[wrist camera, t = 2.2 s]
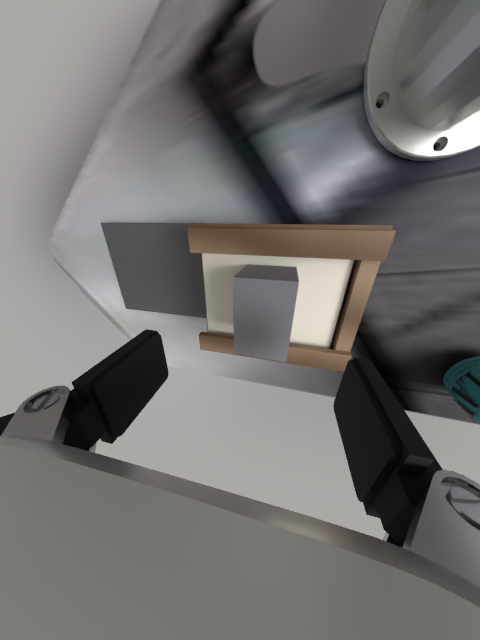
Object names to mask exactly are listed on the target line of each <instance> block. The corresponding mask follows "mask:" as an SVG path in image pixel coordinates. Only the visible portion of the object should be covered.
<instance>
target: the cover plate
mask: <svg viewBox="0 0 480 640" xmlns="http://www.w3.org/2000/svg"><path fill="white" fill-rule="evenodd" d="M202 260H203V272H204V285H205V297H206V310H207V322H208V333H214V334H221V335H228V336H234V354H236V355H243V356H249V357H255V358H262V359H268V360H275V361H281V362H287V355H288V349H289V344H295V345H303V346H310V347H318V348H325V349H329V348H330V345H331V341H332V338H333V334H334V330H335V327H336V323H337V320H338V316H339V312H340V309H341V305H342V302H343V298H344V294H345V291H346V287H347V284H348V280H349V277H350V273H351V269H352V266H353V262H354V260H348V259H325V258H302V257H279V256H256V255H233V254H210V253H202Z"/></svg>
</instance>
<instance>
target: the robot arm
mask: <svg viewBox="0 0 480 640" xmlns="http://www.w3.org/2000/svg"><path fill="white" fill-rule="evenodd" d="M363 93H364V104H365V112H366V115H367V118H368V122H369V125H370V128H371V129H372V131H373V133H374V135H375V136H376V138H377V140H378V141H379V142H380V143H381V144H382V145H383V146H384V147H385V148H386V149H387V150H388V151H390V152H392V153H394V154H395V155H397V156H399V157H401V158H406V159H410V160H414V161H434V160H439V159H444V158H450V157H453V156H456V155H458V154H461V153H464V152H467V151H469V150H472V149H474V148H476V147H478V146H480V0H386V1H385V4H384V6H383V8H382V11H381V13H380V15H379V18H378V21H377V24H376V27H375V30H374V33H373V36H372V39H371V42H370V46H369V51H368V56H367V60H366V65H365V73H364V87H363ZM378 102H379V103H380V104H381V108H377V106H376V103H378ZM433 145H436V149H435V151H434V149H433ZM167 377H168V368H167V363H166V358H165V353H164V348H163V343H162V338H161V335H160V334H159V333H158V332H157V331H153V330H144V331H143V332H141V333H140V334H139V335H137V336H136V337H134V338H133V339H132V340H130V341H129V342H127V343H126V344H125V345H123V346H122V347H120V348H119V349H118V350H116V351H115V352H114V353H112V354H111V355H109V356H108V357H106V358H105V359H104V360H102V361H101V362H99V363H98V364H97V365H95V366H94V367H92V368H91V369H90V370H88V371H87V372H85V373H84V374H83V375H81V376H80V377H78V378H77V379H76V380H74V381H73V382H72V384H73V386H74V389H73V390H72V391H70V390H69V388H68V387H66V386H54V387H50V388H47V389H44V390H42V391H40V392H38V393H36V394H34V395H32V396H31V397H29V398H28V399H27V400H25V401H24V402H23V403H22V404H21V405H20V407H19V408H18V409H17V411H16V412H15V413H12V414H9V415H6V416H3V417H0V640H480V485H479V484H478V483H476V482H475V481H473V480H471V479H469V478H467V477H465V476H464V475H461V474H459V473H456V472H454V471H449V470H443V469H442V468H441V467H440V465H439V463H438V462H437V460H436V459H435V457H434V456H433V454H432V453H431V451H430V449H429V448H428V446H427V445H426V443H425V442H424V440H423V439H422V437H421V436H420V434H419V433H418V431H417V429H416V428H415V427H414V425H413V423H412V422H411V420H410V419H409V417H408V416H407V414H406V413H405V411H404V409H403V408H402V406H401V405H400V403H399V402H398V400H397V399H396V398H395V396H394V395H393V394H392V393H391V391H390V389H389V388H388V386H387V385H386V383H385V382H384V380H383V379H382V377H381V376H380V374H379V372H378V371H377V369H376V368H375V366H374V365H373V363H372V362H371V360H369V359H363V358H353V360H349V361H348V363H347V365H346V368H345V371H344V374H343V377H342V380H341V383H340V386H339V389H338V392H337V395H336V398H335V401H334V412H335V415H336V419H337V423H338V427H339V431H340V434H341V438H342V442H343V446H344V449H345V453H346V457H347V461H348V465H349V469H350V472H351V476H352V480H353V484H354V487H355V491H356V495H357V497H358V499H359V501H361V502H363V504H364V507H365V511H366V514H367V515H370V516H374V517H378V518H380V519H381V522H382V525H383V528H384V530H385V531H386V534H385V536H384V539H383V540H381V539H378V538H375V537H372V536H369V535H366V534H363V533H360V532H357V531H354V530H350V529H347V528H344V527H341V526H338V525H334V524H332V523H329V522H326V521H322V520H319V519H316V518H313V517H310V516H306V515H303V514H300V513H297V512H293V511H290V510H286V509H283V508H280V507H276V506H273V505H269V504H266V503H263V502H260V501H256V500H253V499H250V498H247V497H243V496H240V495H237V494H233V493H230V492H226V491H223V490H219V489H216V488H213V487H209V486H206V485H202V484H199V483H196V482H193V481H189V480H186V479H182V478H179V477H175V476H172V475H169V474H165V473H162V472H159V471H155V470H152V469H148V468H145V467H142V466H138V465H135V464H131V463H128V462H124V461H121V460H117V459H113V458H110V457H107V456H103V455H100V454H96V453H95V448H96V442H97V441H98V440H99V439H100V438H101V440H102V441H104V442H107V443H111V444H112V443H113V442H114V441H115V440H116V438H117V437H119V436H121V435H122V434H123V433H124V432H125V431H126V429H127V428H128V427H129V426H130V424H131V423H132V422H133V420H134V419H135V418H136V417H137V416H138V414H139V413H140V412H141V411H142V409H143V408H144V407H145V406H146V404H147V403H148V402H149V401H150V399H151V398H152V397H153V396H154V394H155V393H156V392H157V391H158V389H159V388H160V387H161V386H162V384H163V383H164V382H165V380H166V379H167Z"/></svg>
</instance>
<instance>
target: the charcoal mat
mask: <svg viewBox="0 0 480 640" xmlns="http://www.w3.org/2000/svg"><path fill="white" fill-rule="evenodd" d="M101 225H102V228H103V231H104V235H105V238H106V241H107V245H108V248H109V252H110V255H111V258H112V262H113V265H114V269H115V272H116V275H117V279H118V282H119V286H120V289H121V292H122V296H123V299H124V303H125V306H126V309H135V310H143V311H151V312H160V313H168V314H177V315H185V316H194V317H202V318H207V315H206V303H205V291H204V278H203V266H202V254H201V253H190V248H189V239H188V229H187V228H191V224H176V223H101Z"/></svg>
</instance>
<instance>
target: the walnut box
mask: <svg viewBox="0 0 480 640" xmlns="http://www.w3.org/2000/svg"><path fill="white" fill-rule="evenodd" d="M190 224H191V228H187V229H188V239H189V248H190V253H201V254H202V253H210V254H233V255H256V256H279V257H302V258H325V259H348V260H354V262H353V266H352V269H351V273H350V277H349V280H348V284H347V287H346V291H345V294H344V298H343V302H342V305H341V309H340V312H339V316H338V320H337V323H336V327H335V330H334V334H333V338H332V341H331V345H330V348H329V349H325V348H318V347H310V346H303V345H295V344H289V349H288V355H287V362H284V363H290V364H297V365H303V366H310V367H316V368H323V369H329V370H336V371H342V372H344V371H345V368H346V365H347V363H348V361H349V360H351V357H352V355H351V353H350V350H351V347H352V344H353V341H354V338H355V335H356V332H357V330H358V327H359V324H360V321H361V318H362V315H363V312H364V309H365V306H366V303H367V300H368V297H369V295H370V292H371V289H372V286H373V283H374V280H375V277H376V274H377V271H378V268H379V265H380V263H381V261H386V258H387V255H388V252H389V250H390V247H391V244H392V241H393V238H394V235H395V233H396V231H391V230H392V228H393V225H303V224H197V223H190ZM202 266H203V260H202ZM203 278H204V272H203ZM204 291H205V285H204ZM205 303H206V297H205ZM206 315H207V310H206ZM207 328H208V322H207ZM199 341H200V350H207V351H213V352H220V353H226V354H232V355H236V354H234V336H228V335H221V334H214V333H208V332H207V333H206V332H201V333H200V334H199ZM239 356H243V355H239ZM245 357H249V356H245ZM252 358H255V357H252ZM258 359H262V358H258ZM265 360H268V359H265ZM271 361H275V360H271ZM278 362H281V361H278Z"/></svg>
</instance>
